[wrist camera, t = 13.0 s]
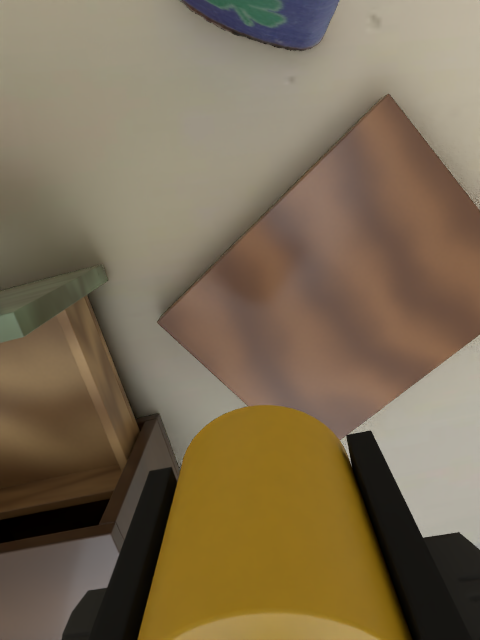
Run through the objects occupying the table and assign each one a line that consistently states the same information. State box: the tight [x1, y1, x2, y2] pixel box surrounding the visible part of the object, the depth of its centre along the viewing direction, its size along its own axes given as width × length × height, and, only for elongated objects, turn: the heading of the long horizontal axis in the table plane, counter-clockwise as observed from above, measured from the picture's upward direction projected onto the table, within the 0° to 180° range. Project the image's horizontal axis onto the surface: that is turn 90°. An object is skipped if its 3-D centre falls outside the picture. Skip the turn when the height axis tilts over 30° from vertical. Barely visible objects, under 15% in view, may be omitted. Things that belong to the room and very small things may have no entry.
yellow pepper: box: [138, 405, 413, 640], centre depth 10 cm, size 6×6×8 cm
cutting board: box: [157, 94, 480, 440], centre depth 28 cm, size 20×16×2 cm
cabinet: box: [0, 414, 180, 640], centre depth 30 cm, size 16×17×12 cm
